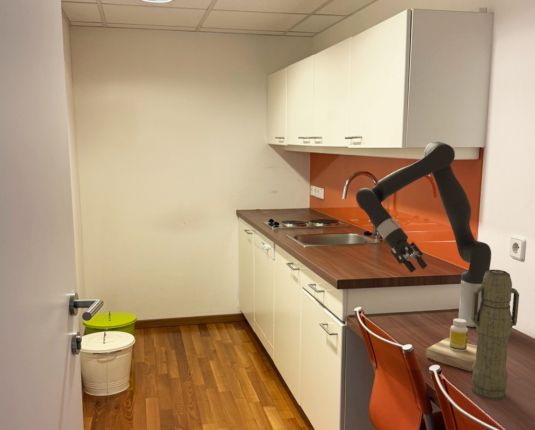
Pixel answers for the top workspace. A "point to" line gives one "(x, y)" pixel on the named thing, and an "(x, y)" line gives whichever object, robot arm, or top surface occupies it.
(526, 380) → the top surface
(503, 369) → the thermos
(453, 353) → the base board
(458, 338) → the supplement bottle
